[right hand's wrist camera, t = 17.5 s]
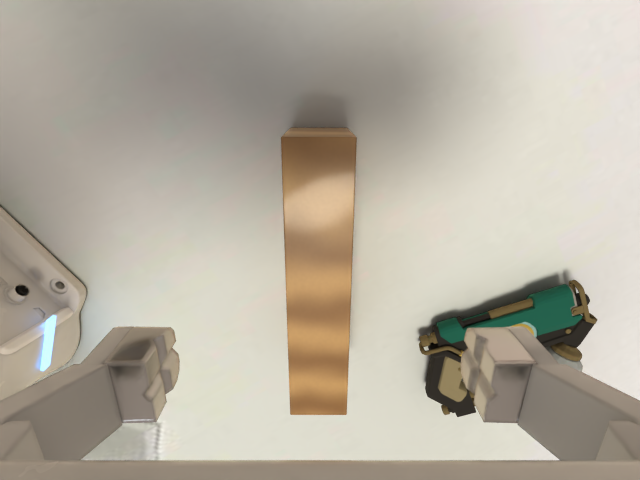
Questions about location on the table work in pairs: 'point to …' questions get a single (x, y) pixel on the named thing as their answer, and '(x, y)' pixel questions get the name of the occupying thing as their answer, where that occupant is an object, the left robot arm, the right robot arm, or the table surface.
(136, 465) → the right robot arm
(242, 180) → the table surface
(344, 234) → the bar
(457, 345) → the spray gun
